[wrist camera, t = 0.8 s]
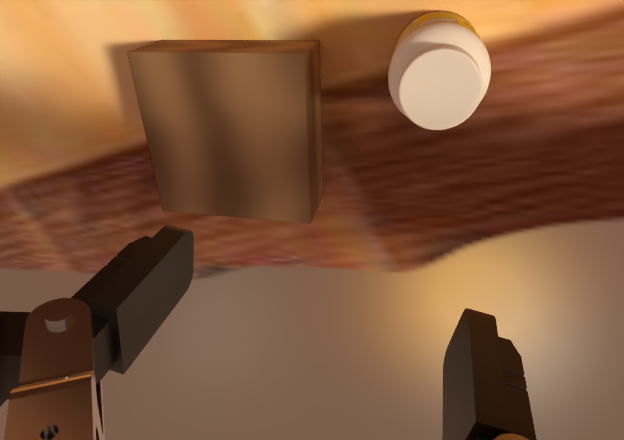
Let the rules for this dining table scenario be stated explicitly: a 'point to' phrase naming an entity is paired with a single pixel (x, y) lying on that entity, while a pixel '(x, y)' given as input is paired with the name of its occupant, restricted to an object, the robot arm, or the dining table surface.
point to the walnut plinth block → (233, 126)
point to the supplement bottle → (439, 70)
